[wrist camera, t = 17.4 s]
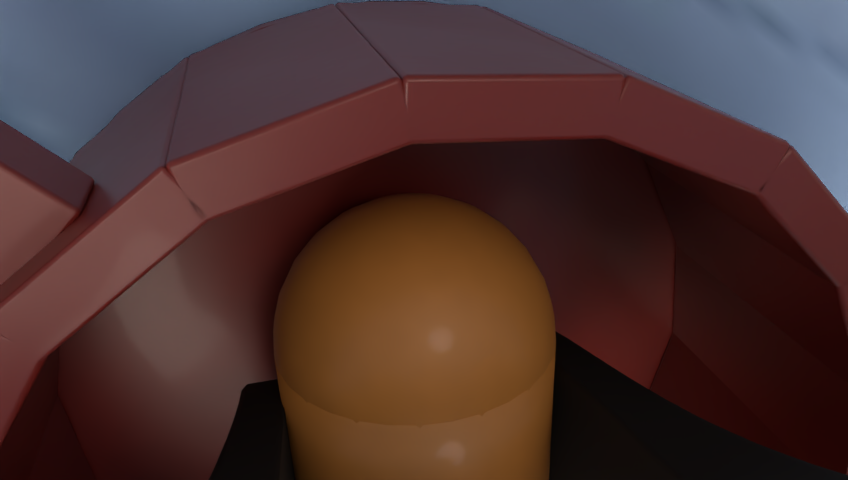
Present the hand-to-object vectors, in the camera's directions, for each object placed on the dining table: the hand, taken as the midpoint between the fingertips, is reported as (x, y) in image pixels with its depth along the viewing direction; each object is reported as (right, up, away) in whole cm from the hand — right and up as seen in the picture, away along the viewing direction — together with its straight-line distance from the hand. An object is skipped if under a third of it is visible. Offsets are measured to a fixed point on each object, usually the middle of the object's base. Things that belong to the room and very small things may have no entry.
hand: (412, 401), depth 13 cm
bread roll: (0, +1, +1) cm, 1 cm away
